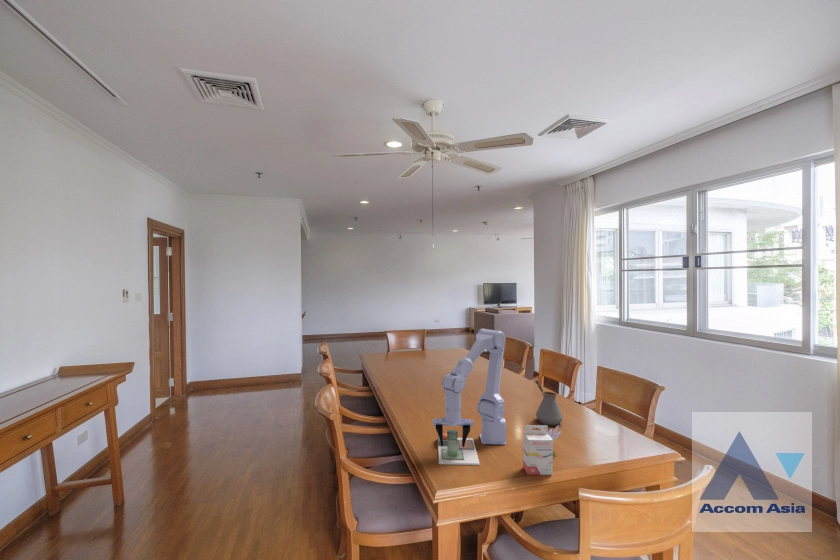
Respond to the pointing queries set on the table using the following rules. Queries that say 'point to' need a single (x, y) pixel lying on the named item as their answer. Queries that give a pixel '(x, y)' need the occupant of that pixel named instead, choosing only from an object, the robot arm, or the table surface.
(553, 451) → the water lily
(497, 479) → the table surface
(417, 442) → the table surface
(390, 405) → the table surface
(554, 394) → the coffee pot
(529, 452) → the ink cartridge box
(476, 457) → the picture board
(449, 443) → the green rounded cylinder
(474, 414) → the table surface
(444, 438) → the button
